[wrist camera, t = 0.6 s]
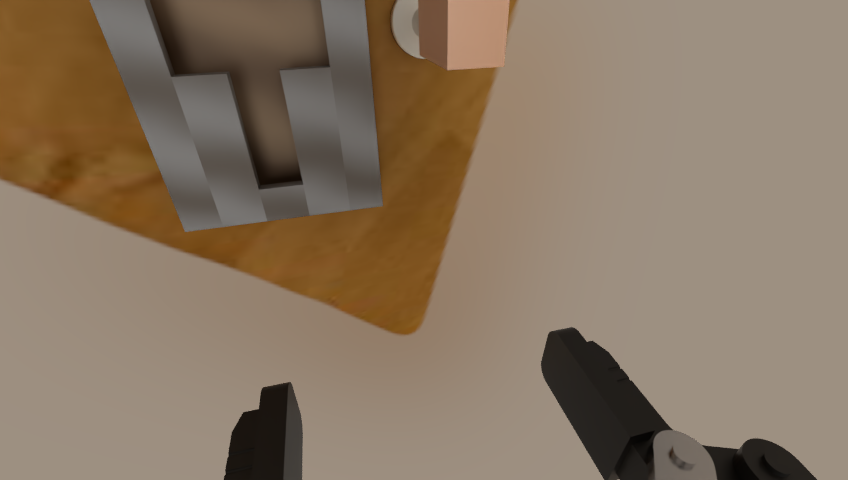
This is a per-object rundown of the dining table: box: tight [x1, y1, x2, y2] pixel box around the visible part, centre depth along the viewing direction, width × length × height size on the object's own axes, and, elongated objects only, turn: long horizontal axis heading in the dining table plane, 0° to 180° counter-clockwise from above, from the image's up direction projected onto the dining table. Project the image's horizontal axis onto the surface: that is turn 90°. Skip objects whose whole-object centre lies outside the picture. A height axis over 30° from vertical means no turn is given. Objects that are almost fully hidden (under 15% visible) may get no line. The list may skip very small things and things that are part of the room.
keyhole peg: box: [390, 0, 509, 70], centre depth 23 cm, size 5×5×12 cm
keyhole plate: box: [90, 0, 383, 232], centre depth 25 cm, size 20×14×5 cm
